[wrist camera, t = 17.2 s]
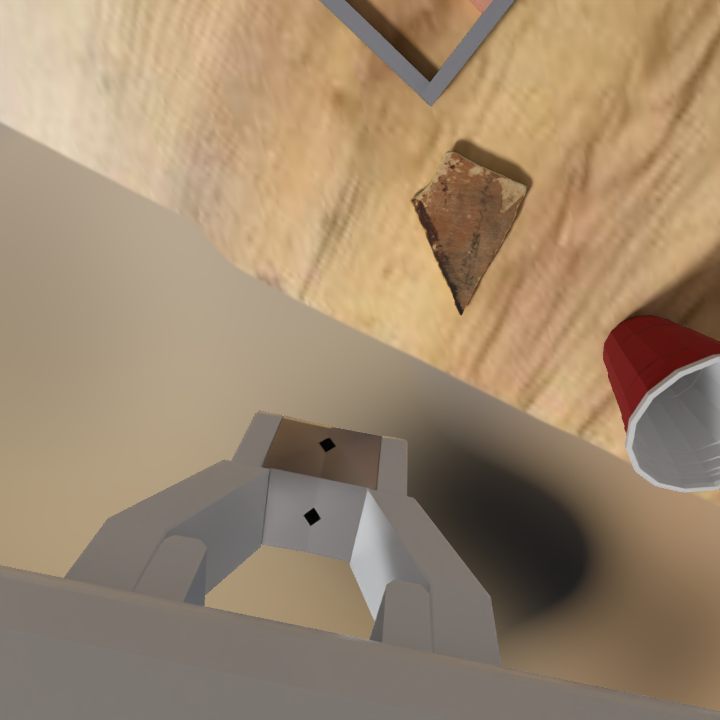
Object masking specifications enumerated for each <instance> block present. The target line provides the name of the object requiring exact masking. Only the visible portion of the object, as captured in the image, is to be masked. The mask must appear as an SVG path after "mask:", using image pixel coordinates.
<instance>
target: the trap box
mask: <svg viewBox="0 0 720 720" xmlns="http://www.w3.org/2000/svg"><path fill="white" fill-rule="evenodd" d="M320 1H321V2H322V3H323V4H324V5H325V6H326V7H327V8H328V9H329V10H330V11H331V12H332V13H333V14H334V15H335V16H336V17H338V18H339V19H340V20H341V21H342V22H343V23H344V24H345V25H346V26H347V27H348V28H349V29H350V30H351V31H352V32H353V33H354V34H355V35H356V36H357V37H358V38H360V39H361V40H362V41H363V42H364V43H365V44H366V45H367V46H368V47H369V48H370V49H371V50H372V51H373V52H374V53H375V54H376V55H377V56H378V57H379V58H380V59H381V60H383V61H384V62H385V63H386V64H387V65H388V66H389V67H390V68H391V69H392V70H393V71H394V72H395V73H396V74H397V75H398V76H399V77H400V78H401V79H402V80H403V81H404V82H406V83H407V84H408V85H409V86H410V87H411V88H412V89H413V90H414V91H415V92H416V93H417V94H418V95H419V96H420V97H421V98H422V99H423V100H424V101H425V102H426V103H428V104H429V105H430V106H432V105H433V103H434V102H435V101H436V100H437V98H438V97H439V96H440V95H441V93H442V92H443V91H444V89H445V88H446V87H447V86H448V84H449V83H450V82H451V81H452V79H453V78H454V77H455V75H456V74H457V73H458V72H459V70H460V69H461V68H462V67H463V65H464V64H465V63H466V61H467V60H468V59H469V58H470V56H471V55H472V54H473V53H474V51H475V50H476V49H477V47H478V46H479V45H480V44H481V42H482V41H483V40H484V39H485V37H486V36H487V35H488V33H489V32H490V31H491V30H492V28H493V27H494V26H495V25H496V23H497V22H498V21H499V19H500V18H501V17H502V16H503V14H504V13H505V12H506V11H507V9H508V8H509V7H510V5H511V4H512V3H513V2H514V0H470V1H471V2H472V3H473V4H474V5H475V6H476V7H477V8H478V9H479V10H480V11H481V12H482V13H483V14H482V15H481V16H480V18H479V19H478V20H477V22H476V23H475V24H474V26H473V27H472V28H471V29H470V31H469V32H468V33H467V35H466V36H465V37H464V39H463V40H462V41H461V43H460V44H459V45H458V46H457V48H456V49H455V50H454V52H453V53H452V54H451V56H450V57H449V58H448V59H447V61H446V62H445V63H444V65H443V66H442V67H441V69H440V70H439V71H438V72H437V74H436V75H435V76H434V78H433V79H432V80H431V82H429V81H428V80H427V79H426V78H425V77H424V76H423V75H422V74H421V73H420V72H419V71H418V70H417V69H415V68H414V67H413V66H412V65H411V64H410V63H409V62H408V61H407V60H406V59H405V58H404V57H403V56H402V55H401V54H400V53H399V52H398V51H397V50H396V49H395V48H394V47H393V46H392V45H391V44H390V43H389V42H388V41H387V40H386V39H385V38H384V37H383V36H381V35H380V34H379V33H378V32H377V31H376V30H375V29H374V28H373V27H372V26H371V25H370V24H369V23H368V22H367V21H366V20H365V19H364V18H363V17H362V16H361V15H360V14H359V13H358V12H357V11H356V10H355V9H354V8H353V7H352V6H351V5H350V4H349V3H347V2H346V1H345V0H320Z"/></svg>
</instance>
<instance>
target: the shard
mask: <svg viewBox="0 0 720 720" xmlns="http://www.w3.org/2000/svg"><path fill="white" fill-rule="evenodd" d="M526 188H527V186H526V185H524V184H522V183H519V182H517V181H513V180H511V179H509V178H508V177H506V176H504V175H501V174H499V173H496V172H494V171H492V170H489V169H487V168H485V167H482V166H480V165H478V164H476V163H474V162H473V161H471V160H469V159H467V158H465V157H463V156H462V155H460V154H458V153H456V152H451V151H448V152H446V154H445V156H444V158H443V160H442V162H441V164H440V167H439V168H438V170H437V172H436V174H435V175H434V177H433V179H432V181H431V183H430V184H429V185H428V186H427V187H426V189H425V190H423V191H422V192H420V193H419V194H417V195H416V196H415V197H413V198H412V199H411V200H410V202H411V204H412V206H413V207H414V209H415V212H416V214H417V216H418V219H419V221H420V224H421V226H422V228H423V231H424V233H425V235H426V238H427V240H428V242H429V244H430V247H431V249H432V251H433V255H434V257H435V261H436V262H437V264H438V267H439V269H440V271H441V274H442V276H443V278H444V280H445V281H446V283H447V285H448V287H449V288H450V290H451V293H452V295H453V298H454V300H455V306H456V308H457V310H458V312H459V314H460V315H462V314H463V311H464V310H465V308H466V305H467V304H468V302H469V300H470V299H471V297H472V294H473V292H474V290H475V287H476V286H477V284H478V282H479V280H480V278H481V277H482V275H483V273H484V272H485V270H486V269H487V268H488V266H489V265H490V264H491V262H492V260H493V258H494V256H495V254H496V252H497V250H498V249H499V247H500V246H501V244H502V243H503V240H504V239H505V235H506V233H507V232H508V230H509V229H510V227H511V225H512V223H513V220H514V219H515V217H516V215H517V208H518V207H519V205H520V203H521V202H522V200H523V198H524V196H525V195H526Z"/></svg>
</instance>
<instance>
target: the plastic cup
mask: <svg viewBox="0 0 720 720" xmlns="http://www.w3.org/2000/svg"><path fill="white" fill-rule="evenodd" d="M603 360H604V363H605V366H606V368H607V371H608V378H609V381H610V383H611V386H612V389H613V392H614V394H615V397H616V400H617V403H618V405H619V408H620V411H621V414H622V420H623V423H624V425H625V427H624V428H625V431H626V441H625V446H626V450H627V453H628V455H629V458H630V460H631V463H632V465H633V468H634V470H635V471H636V472H637V473H638V474H640V475H641V476H642V477H644V478H645V479H646V480H648V481H649V482H650V483H652V484H653V485H654V486H658V487H662V488H667V489H671V490H675V491H680V492H694V491H707V490H717V489H720V342H719V341H716V340H714V339H712V338H710V337H708V336H705V335H703V334H701V333H699V332H696V331H694V330H692V329H689V328H686V327H683V326H680V325H678V324H676V323H674V322H672V321H669V320H666V319H663V318H660V317H656V316H651V315H650V316H637V317H634V318H631V319H629V320H627V321H624V322H622V323H621V324H620V325H618V326H617V327H616V328H615V329H614V330H612V331H611V333H610V334H609V336H608V338H607V340H606V341H605V343H604V351H603Z"/></svg>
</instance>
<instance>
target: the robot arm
mask: <svg viewBox="0 0 720 720" xmlns="http://www.w3.org/2000/svg"><path fill="white" fill-rule="evenodd" d="M261 544H263V545H269V546H274V547H280V548H286V549H292V550H298V551H304V552H308V553H313V554H317V555H321V556H326V557H330V558H335V559H338V560H343V561H347V562H350V566H351V569H352V571H353V573H354V575H355V578H356V580H357V582H358V585H359V586H360V589H361V591H362V594H363V596H364V598H365V601H366V603H367V605H368V607H369V610H370V612H371V614H372V617H373V619H374V621H375V623H374V626H373V630H372V633H371V636H370V639H369V640H367V639H362V638H357V637H352V636H348V635H342V634H338V633H333V632H328V631H323V630H318V629H313V628H308V627H303V626H298V625H293V624H288V623H283V622H278V621H273V620H268V619H264V618H259V617H253V616H249V615H244V614H239V613H234V612H229V611H224V610H219V609H214V608H209V607H204V605H205V595H206V594H207V593H208V592H209V591H211V590H212V589H213V588H214V587H215V586H216V585H217V584H219V583H220V582H221V581H222V580H223V579H224V578H226V577H227V576H228V575H229V574H230V573H231V572H232V571H234V570H235V569H236V568H237V567H238V566H239V565H240V564H242V563H243V562H244V561H245V560H246V559H247V558H248V557H250V556H251V555H252V554H253V553H254V552H255V551H256V550H258V549H259V548H260V547H261ZM306 549H307V550H306ZM0 720H720V711H717V710H712V709H707V708H702V707H697V706H692V705H687V704H683V703H678V702H673V701H668V700H662V699H658V698H653V697H648V696H643V695H638V694H633V693H628V692H623V691H618V690H613V689H608V688H604V687H599V686H593V685H588V684H584V683H579V682H573V681H568V680H564V679H559V678H554V677H549V676H543V675H539V674H534V673H529V672H524V671H519V670H515V669H509V668H504V667H501V661H500V654H499V648H498V642H497V635H496V629H495V622H494V616H493V609H492V603H491V597H490V596H489V594H488V593H487V592H486V590H485V589H484V588H483V587H482V585H481V584H480V583H479V582H478V580H477V579H476V578H475V576H474V575H473V574H472V572H471V571H470V570H469V569H468V567H467V566H466V565H465V564H464V562H463V561H462V559H461V558H460V557H459V556H458V554H457V553H456V552H455V551H454V549H453V548H452V546H451V545H450V544H449V543H448V541H447V540H446V539H445V537H444V536H443V535H442V534H441V532H440V531H439V530H438V528H437V527H436V526H435V524H434V523H433V522H432V521H431V519H430V518H429V517H428V515H427V514H426V513H425V512H424V510H423V509H422V508H421V507H420V505H419V504H418V502H417V501H416V500H415V499H414V498H411V497H407V441H406V440H405V439H399V438H393V437H387V436H377V435H372V434H367V433H361V432H356V431H351V430H346V429H341V428H336V427H333V426H329V425H324V424H320V423H315V422H310V421H306V420H302V419H297V418H293V417H288V416H282V415H279V414H274V413H269V412H264V411H258V412H257V413H256V414H255V416H254V417H253V420H252V421H251V423H250V425H249V427H248V429H247V431H246V433H245V435H244V437H243V439H242V441H241V443H240V445H239V447H238V449H237V451H236V453H235V455H234V457H233V459H232V461H228V460H222V461H220V462H218V463H216V464H214V465H212V466H210V467H208V468H206V469H204V470H202V471H201V472H199V473H197V474H195V475H193V476H191V477H189V478H187V479H185V480H183V481H181V482H179V483H177V484H175V485H173V486H171V487H169V488H167V489H165V490H163V491H161V492H159V493H157V494H155V495H153V496H151V497H149V498H147V499H145V500H143V501H141V502H139V503H137V504H136V505H133V506H132V507H130V508H128V509H126V510H124V511H122V512H120V513H118V514H116V515H114V516H112V517H110V518H108V519H107V520H106V522H105V523H104V524H103V526H102V527H101V528H100V530H99V531H98V533H97V534H96V535H95V536H94V538H93V539H92V541H91V542H90V543H89V545H88V546H87V547H86V549H85V550H84V551H83V553H82V554H81V556H80V557H79V558H78V559H77V561H76V562H75V563H74V565H73V566H72V568H71V569H70V570H69V572H68V573H67V574H66V576H65V577H64V578H61V577H56V576H51V575H46V574H41V573H37V572H32V571H27V570H22V569H16V568H12V567H7V566H2V565H0Z"/></svg>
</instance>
